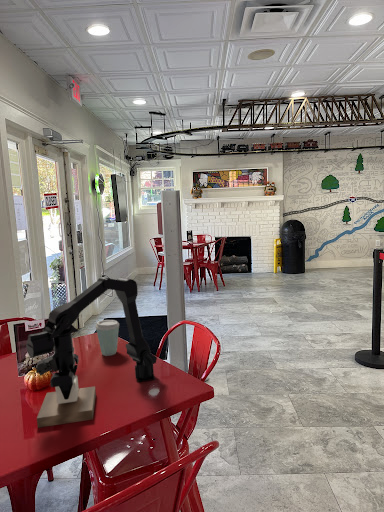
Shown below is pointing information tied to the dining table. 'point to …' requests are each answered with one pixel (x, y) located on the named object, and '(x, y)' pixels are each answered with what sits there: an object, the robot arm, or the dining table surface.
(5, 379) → the dining table surface
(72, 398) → the cream cube
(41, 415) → the walnut base
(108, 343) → the disposable coffee cup
